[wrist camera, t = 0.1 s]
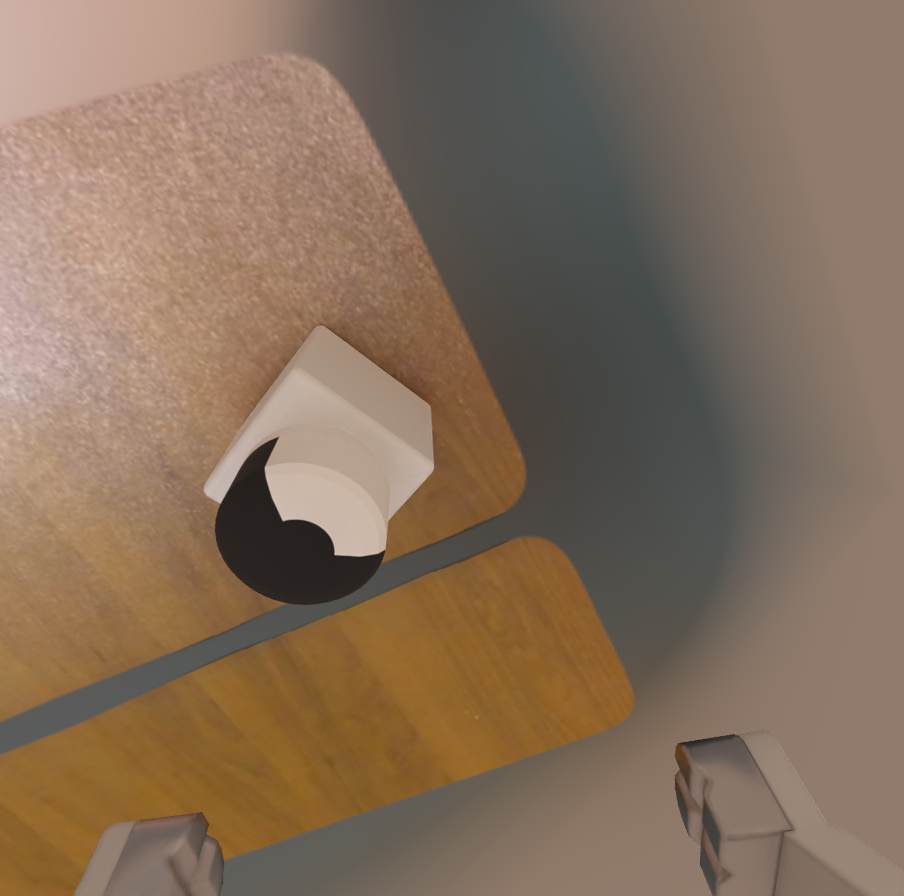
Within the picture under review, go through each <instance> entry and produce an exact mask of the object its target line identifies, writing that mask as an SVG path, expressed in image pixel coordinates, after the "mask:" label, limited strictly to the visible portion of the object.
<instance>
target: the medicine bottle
mask: <svg viewBox="0 0 904 896" xmlns="http://www.w3.org/2000/svg"><path fill="white" fill-rule="evenodd" d="M433 470H434V450H433V433H432V415H431V407H430V405H429V404H428V403H427V402H425V401H424V400H423V399H421V398H420V397H418V396H417V395H416V394H414V393H413V392H412V391H410V390H409V389H408V388H406V387H405V386H404V385H402V384H401V383H400V382H398V381H397V380H396V379H394V378H393V377H392V376H390V375H389V374H388V373H386V372H385V371H384V370H382V369H381V368H380V367H378V366H377V365H376V364H374V363H373V362H372V361H370V360H369V359H368V358H366V357H365V356H364V355H362V354H361V353H360V352H358V351H357V350H356V349H354V348H353V347H352V346H350V345H349V344H348V343H346V342H345V341H344V340H342V339H341V338H340V337H338V336H337V335H336V334H334V333H333V332H331V331H330V330H329V329H327V328H326V327H324V326H322V325H321V326H317V327H315V328H314V329H313V331H312V332H311V333H310V335H309V336H308V337H307V339H306V340H305V341H304V343H303V344H302V345H301V347H300V348H299V350H298V351H297V352H296V354H295V355H294V356H293V358H292V359H291V360H290V362H289V363H288V364H287V366H286V367H285V368H284V370H283V371H282V372H281V374H280V375H279V376H278V378H277V379H276V380H275V382H274V383H273V384H272V386H271V387H270V388H269V390H268V391H267V392H266V394H265V395H264V396H263V398H262V399H261V400H260V402H259V403H258V404H257V406H256V407H255V408H254V410H253V411H252V412H251V414H250V415H249V416H248V418H247V419H246V420H245V422H244V423H243V425H242V426H241V428H240V429H239V431H238V432H237V434H236V436H235V437H234V439H233V440H232V442H231V444H230V445H229V447H228V448H227V450H226V451H225V453H224V455H223V456H222V458H221V459H220V461H219V463H218V464H217V466H216V467H215V469H214V471H213V472H212V474H211V475H210V477H209V478H208V480H207V482H206V483H205V485H204V493H205V494H206V495H207V496H208V497H210V498H211V499H213V500H215V501H216V502H218V503H220V504H221V505H220V507H219V509H218V513H217V517H216V524H215V533H216V541H217V544H218V548H219V551H220V553H221V555H222V557H223V559H224V561H225V562H226V564H227V566H228V567H229V568H230V570H231V571H232V572H233V573H234V574H235V575H236V576H237V577H238V578H239V579H240V580H241V581H242V582H243V583H245V584H246V585H247V586H249V587H250V588H252V589H253V590H254V591H256V592H258V593H260V594H262V595H264V596H266V597H268V598H271V599H274V600H277V601H281V602H284V603H291V604H302V605H309V604H320V603H325V602H330V601H333V600H337V599H340V598H342V597H345V596H347V595H349V594H351V593H353V592H354V591H356V590H358V589H359V588H360V587H362V586H363V585H364V584H365V583H367V581H369V579H370V578H371V577H372V576H373V575H374V574H375V572H376V571H377V569H378V568H379V566H380V564H381V562H382V559H383V556H384V553H385V549H386V540H387V527H388V521H389V519H390V518H391V517H392V516H393V515H394V514H395V513H396V512H397V511H398V510H399V508H400V507H401V506H402V505H403V504H404V503H405V502H406V501H407V500H408V499H409V497H410V496H411V495H412V494H413V493H414V492H415V491H416V490H417V489H418V488H419V486H420V485H421V484H422V483H423V482H424V481H425V480H426V479H427V478H428V477H429V475H430V474H431V473H432V472H433Z"/></svg>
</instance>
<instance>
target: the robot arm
mask: <svg viewBox="0 0 904 896" xmlns="http://www.w3.org/2000/svg"><path fill="white" fill-rule="evenodd" d="M675 758H676V760H677V763H678V765H679V768H680V770H679V772H678V773H677V774H676V775H675V790H676V795H677V801H678V806H679V809H680V813H681V816H682V819H683V822H684V825H685V827H686V830H687V832H688V835H689V837H690V838H692V839H693V840H694V841H695V842H697V843H698V844H699V845H700V846H701V856H700V857H701V858H700V866H701V868H702V870H703V873H704V876H705V878H706V880H707V883H708V886H709V888H710V890H711V893H712V895H713V896H904V871H903V870H902V869H900V868H899V867H897V866H896V865H895V864H893V863H892V862H890V861H889V860H887V859H886V858H884V857H883V856H882V855H880V854H879V853H878V852H876V851H875V850H873V849H872V848H871V847H869V846H868V845H866V844H865V843H863V842H862V841H861V840H859V839H858V838H856V837H855V836H854V835H852V834H851V833H849V832H848V831H847V830H845V829H843V828H842V827H841V826H839V825H832V826H829V825H828V823H827V822H826V820H825V819H824V817H823V815H822V814H821V812H820V810H819V809H818V807H817V805H816V804H815V802H814V801H813V799H812V797H811V796H810V794H809V792H808V791H807V789H806V788H805V786H804V784H803V783H802V781H801V779H800V778H799V776H798V774H797V773H796V771H795V770H794V768H793V766H792V765H791V763H790V762H789V760H788V758H787V756H786V755H785V753H784V752H783V750H782V748H781V747H780V745H779V743H778V742H777V740H776V739H775V737H774V736H773V735H772V734H771V733H770V732H768V731H758V732H753V733H747V734H740V735H734V734H733V735H726V736H720V737H714V738H708V739H702V740H695V741H690V742H683V743H678V744H677V746H676V753H675ZM208 826H209V823H208V821H207V820H206V818H205V816H204V815H203V813H202V812H200V813H193V814H185V815H177V816H169V817H161V818H153V819H145V820H135V821H128V822H121V823H114V824H110V826H109V827H108V828H107V829H106V830H105V831H104V833H103V834H102V835H101V837H100V839H99V841H98V843H97V845H96V848H95V850H94V852H93V854H92V856H91V858H90V861H89V863H88V865H87V867H86V869H85V871H84V873H83V876H82V878H81V880H80V882H79V884H78V886H77V889H76V891H75V893H74V895H73V896H220V892H221V888H222V884H223V871H224V859H223V854H222V849H221V847H220V845H219V843H218V841H217V840H216V839H214V838H212V837H210V836H208V835H207V834H206V833H207V829H208Z"/></svg>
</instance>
